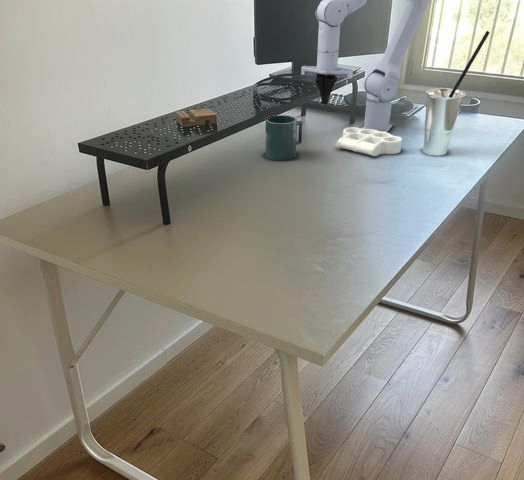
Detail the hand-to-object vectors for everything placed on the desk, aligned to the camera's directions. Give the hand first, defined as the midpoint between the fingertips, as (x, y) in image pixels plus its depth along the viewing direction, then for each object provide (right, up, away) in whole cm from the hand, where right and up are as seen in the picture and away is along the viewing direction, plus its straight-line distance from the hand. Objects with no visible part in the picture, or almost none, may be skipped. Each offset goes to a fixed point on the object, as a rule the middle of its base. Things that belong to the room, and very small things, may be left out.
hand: (325, 103), depth 160 cm
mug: (-12, -17, -8) cm, 22 cm away
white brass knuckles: (+12, -14, -3) cm, 19 cm away
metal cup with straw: (+30, -17, -7) cm, 35 cm away
